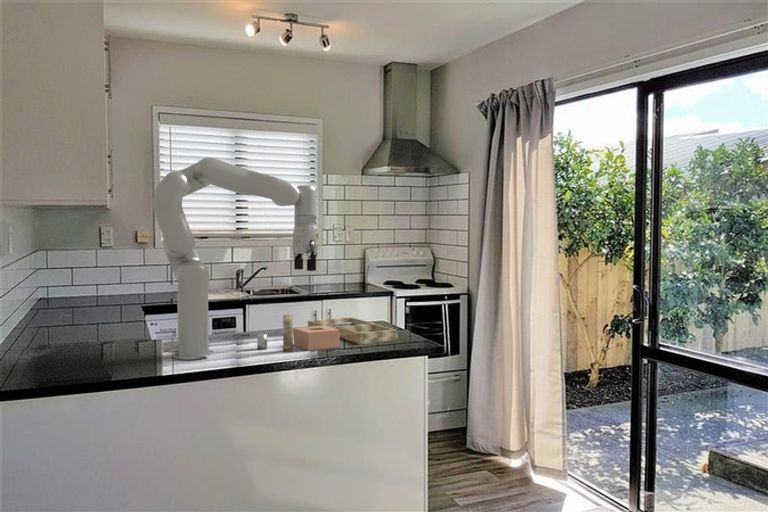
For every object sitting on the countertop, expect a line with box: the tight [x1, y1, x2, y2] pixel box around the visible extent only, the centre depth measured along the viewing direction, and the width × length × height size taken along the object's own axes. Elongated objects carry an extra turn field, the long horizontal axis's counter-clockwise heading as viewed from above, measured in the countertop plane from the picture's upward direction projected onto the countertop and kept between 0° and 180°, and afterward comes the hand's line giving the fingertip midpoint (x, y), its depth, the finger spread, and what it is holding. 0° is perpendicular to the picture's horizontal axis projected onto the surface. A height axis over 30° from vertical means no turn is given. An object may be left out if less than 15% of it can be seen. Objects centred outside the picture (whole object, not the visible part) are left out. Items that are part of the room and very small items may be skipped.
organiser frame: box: [307, 317, 398, 346], centre depth 233 cm, size 20×38×4 cm, turn 33°
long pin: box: [282, 314, 294, 353], centre depth 201 cm, size 3×3×12 cm
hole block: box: [293, 325, 341, 352], centre depth 210 cm, size 12×12×6 cm
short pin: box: [256, 333, 268, 351], centre depth 204 cm, size 3×3×5 cm
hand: (304, 270), depth 211 cm, fingers open, 9 cm apart
